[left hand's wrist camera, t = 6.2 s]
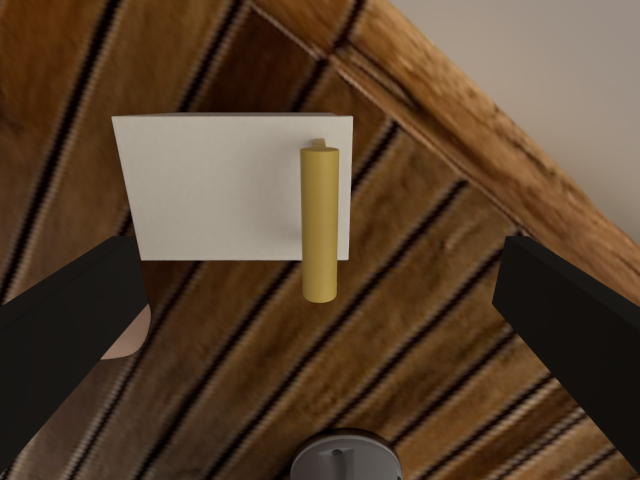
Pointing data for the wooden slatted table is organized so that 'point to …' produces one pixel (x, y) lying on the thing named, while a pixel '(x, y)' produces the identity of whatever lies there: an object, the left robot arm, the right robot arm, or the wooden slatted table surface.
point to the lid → (241, 190)
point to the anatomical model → (131, 336)
